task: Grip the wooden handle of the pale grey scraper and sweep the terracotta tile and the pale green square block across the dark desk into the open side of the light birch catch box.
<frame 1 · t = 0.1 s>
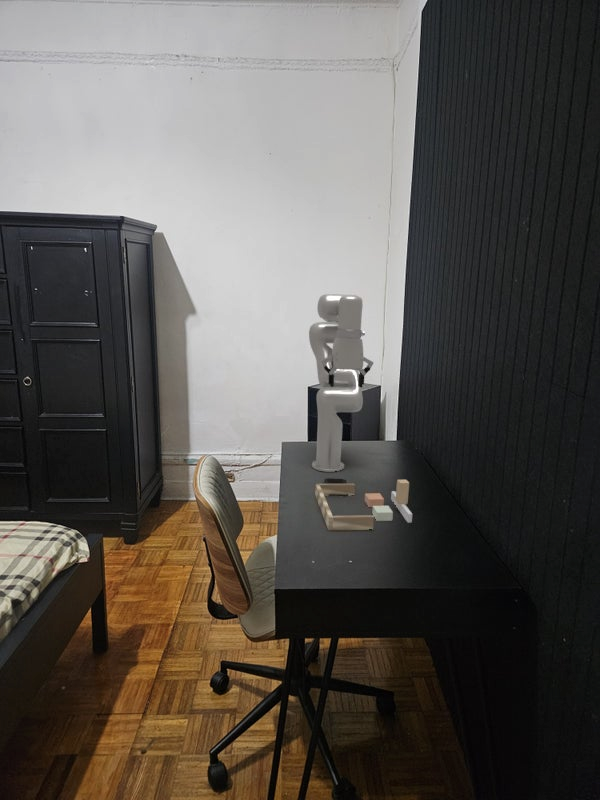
hand: (345, 386, 177), 37 cm above the table, tool pointing down, fingers open, 9 cm apart
scraper: (400, 510, 171), on the table
terracotta tile: (373, 504, 175), on the table
pale green square block: (382, 518, 165), on the table
phone: (335, 489, 187), on the table
catch box: (343, 511, 168), on the table
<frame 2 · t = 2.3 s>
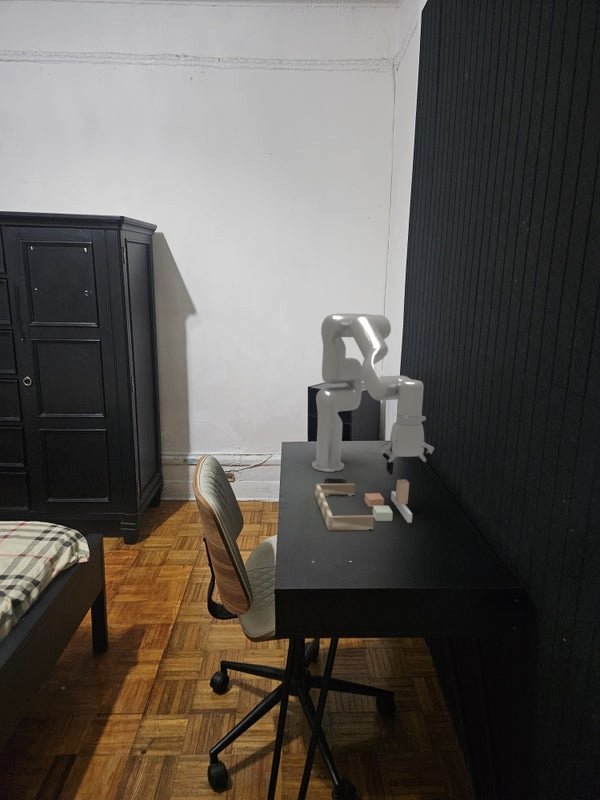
hand: (405, 473, 168), 13 cm above the table, tool pointing down, fingers open, 9 cm apart
nothing on the table moved.
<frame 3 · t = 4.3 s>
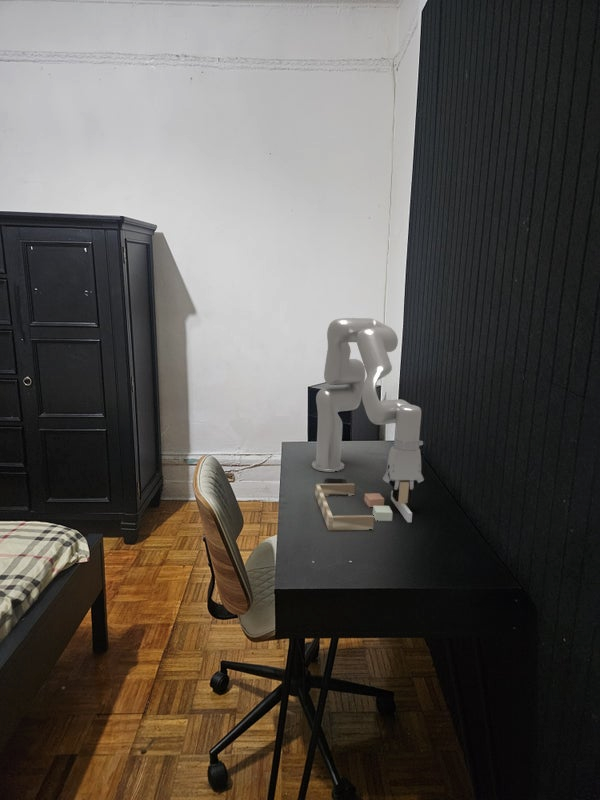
hand: (401, 499, 170), 4 cm above the table, tool pointing down, fingers closed on scraper, 3 cm apart
scraper: (400, 510, 171), on the table, touching gripper
everything else where it was.
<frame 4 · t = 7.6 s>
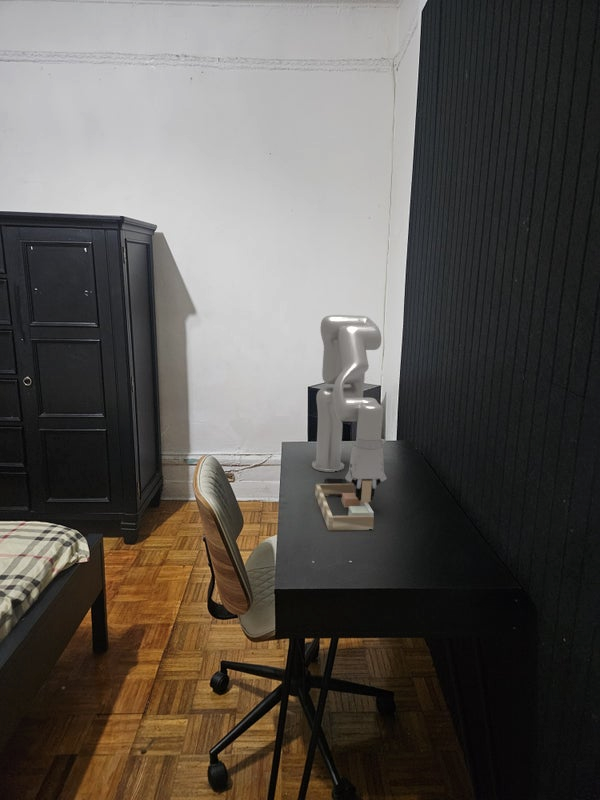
hand: (364, 498, 168), 4 cm above the table, tool pointing down, fingers closed on scraper, 3 cm apart
scraper: (363, 509, 169), point 1 cm above the table, touching gripper, pale green square block, terracotta tile
terracotta tile: (350, 504, 174), on the table, touching scraper
pale green square block: (358, 518, 164), on the table, touching scraper
everything else where it was.
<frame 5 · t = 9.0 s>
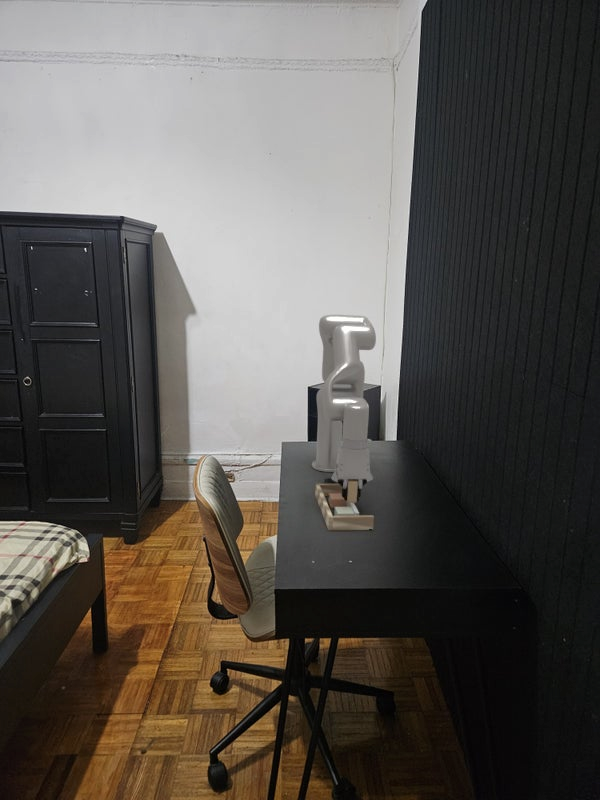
hand: (350, 498, 168), 4 cm above the table, tool pointing down, fingers closed on scraper, 3 cm apart
scraper: (350, 509, 169), on the table, touching gripper
terracotta tile: (337, 505, 174), on the table
pale green square block: (343, 519, 163), on the table
everything else where it was.
when the fingers open (4 cm above the table, at t = 10.0 s): scraper stays where it is, on the table.
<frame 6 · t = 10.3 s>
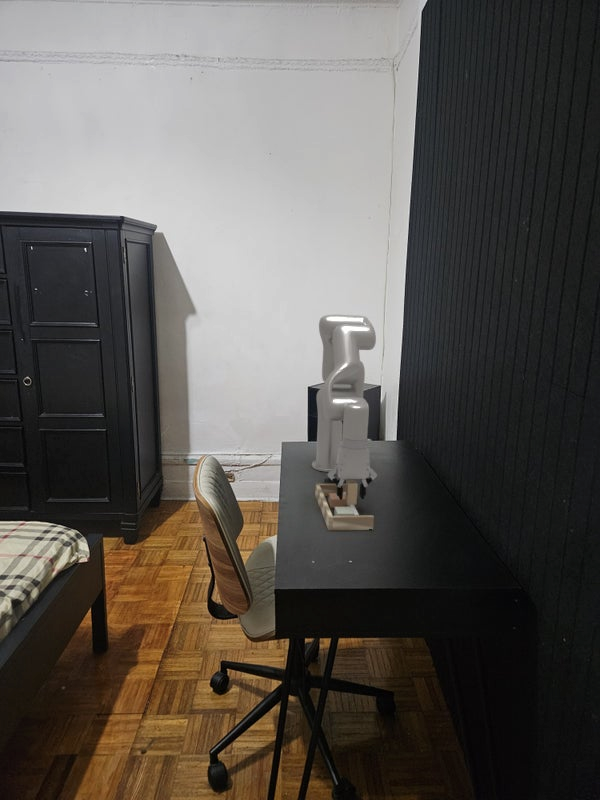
hand: (350, 497, 168), 5 cm above the table, tool pointing down, fingers open, 6 cm apart
scraper: (350, 511, 169), on the table
everything else where it was.
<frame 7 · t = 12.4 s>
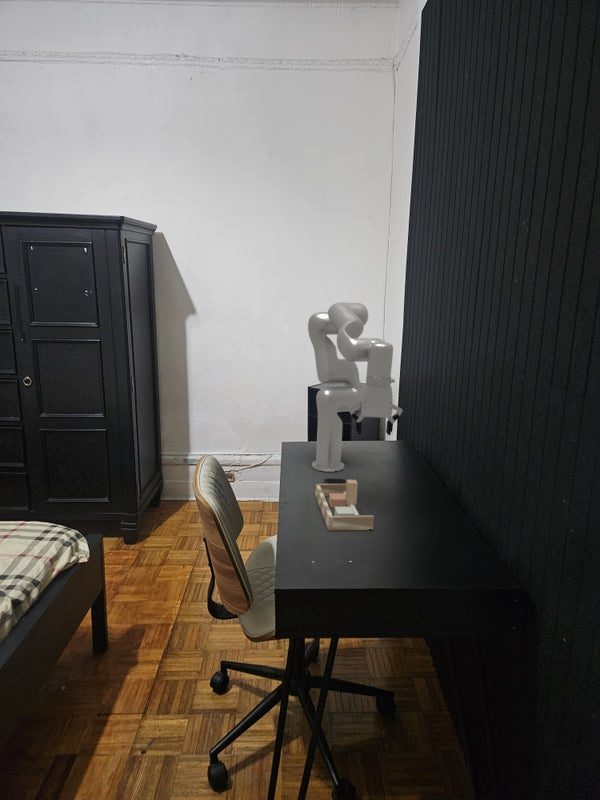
hand: (373, 433, 172), 23 cm above the table, tool pointing down, fingers open, 9 cm apart
nothing on the table moved.
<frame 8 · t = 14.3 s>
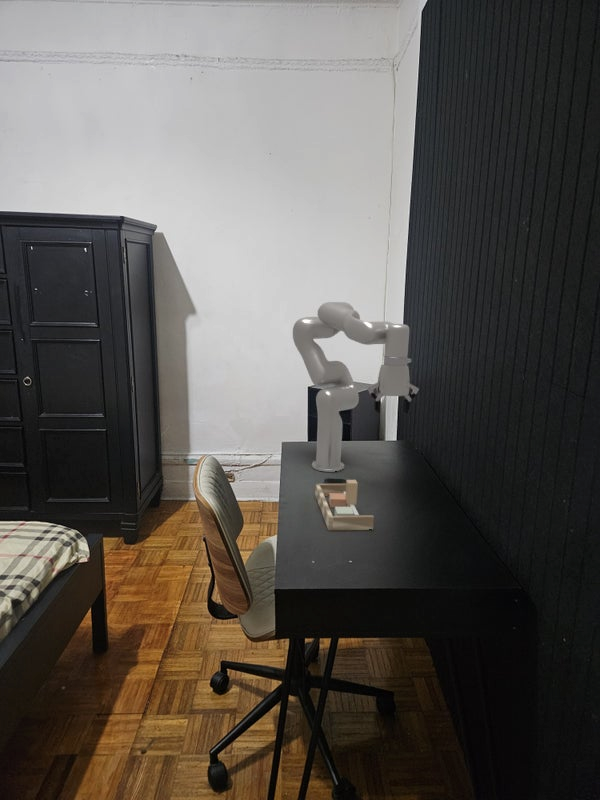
hand: (391, 412, 180), 28 cm above the table, tool pointing down, fingers open, 9 cm apart
nothing on the table moved.
at the end: terracotta tile inside the target area on the catch box (5.5 cm from its centre), point 0.0 cm above the catch box's base; pale green square block inside the target area on the catch box (5.4 cm from its centre), point 0.0 cm above the catch box's base; terracotta tile moved 12.2 cm from its start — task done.
